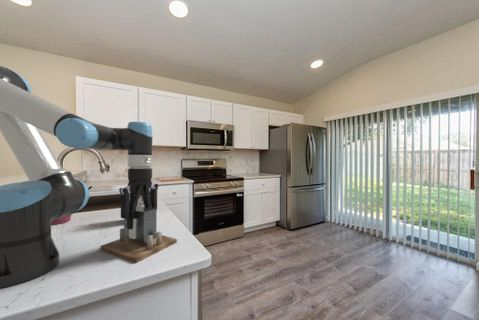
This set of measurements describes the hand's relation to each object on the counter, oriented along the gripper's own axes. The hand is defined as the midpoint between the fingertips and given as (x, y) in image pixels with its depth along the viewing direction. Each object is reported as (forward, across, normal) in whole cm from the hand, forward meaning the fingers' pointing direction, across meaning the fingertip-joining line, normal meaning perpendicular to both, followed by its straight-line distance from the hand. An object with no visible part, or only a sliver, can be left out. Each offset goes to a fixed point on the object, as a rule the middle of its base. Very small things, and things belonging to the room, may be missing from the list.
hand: (140, 234), depth 70 cm
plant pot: (+4, -1, +56) cm, 56 cm away
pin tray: (+4, 0, 0) cm, 4 cm away
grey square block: (+1, 0, 0) cm, 1 cm away
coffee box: (+4, +16, +27) cm, 32 cm away
